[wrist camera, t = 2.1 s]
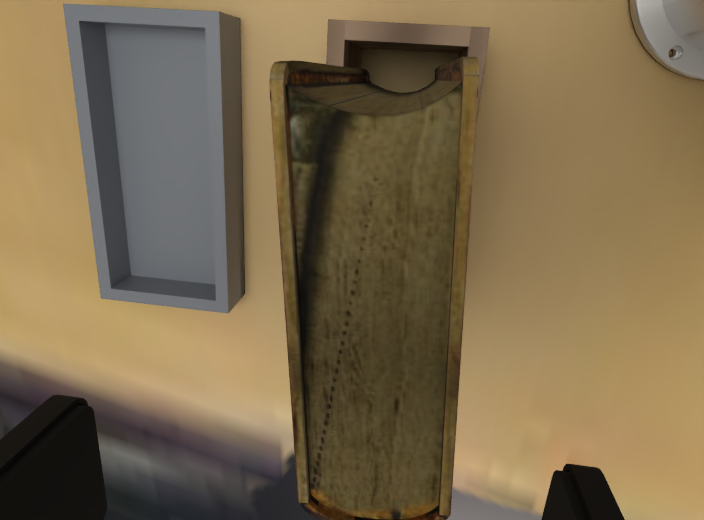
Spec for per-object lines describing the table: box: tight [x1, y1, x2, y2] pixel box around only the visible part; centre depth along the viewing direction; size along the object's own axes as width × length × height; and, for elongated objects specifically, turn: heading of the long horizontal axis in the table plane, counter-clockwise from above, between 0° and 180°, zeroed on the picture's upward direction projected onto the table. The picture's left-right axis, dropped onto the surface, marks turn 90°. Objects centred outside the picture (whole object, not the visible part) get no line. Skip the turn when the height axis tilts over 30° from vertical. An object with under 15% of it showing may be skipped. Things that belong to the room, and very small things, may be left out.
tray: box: [63, 4, 245, 313], centre depth 39 cm, size 11×22×4 cm, turn 176°
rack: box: [326, 19, 490, 122], centre depth 35 cm, size 9×21×8 cm, turn 176°
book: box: [270, 57, 479, 520], centre depth 27 cm, size 16×6×25 cm, turn 1°
